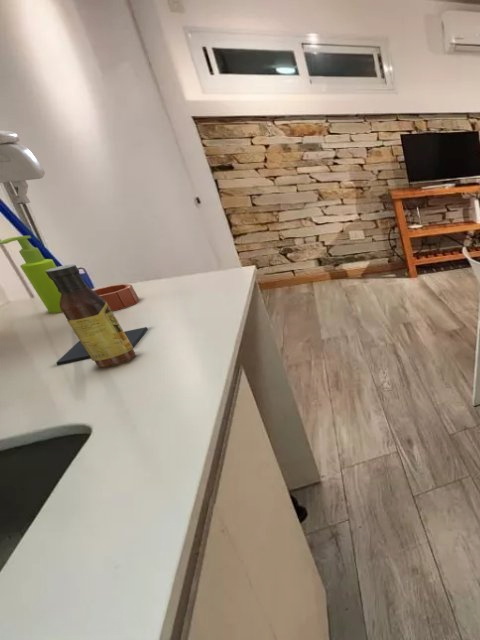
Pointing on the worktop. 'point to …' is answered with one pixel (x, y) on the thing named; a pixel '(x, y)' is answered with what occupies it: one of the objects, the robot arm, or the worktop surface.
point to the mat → (80, 352)
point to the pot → (118, 296)
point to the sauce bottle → (91, 318)
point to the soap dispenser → (38, 273)
